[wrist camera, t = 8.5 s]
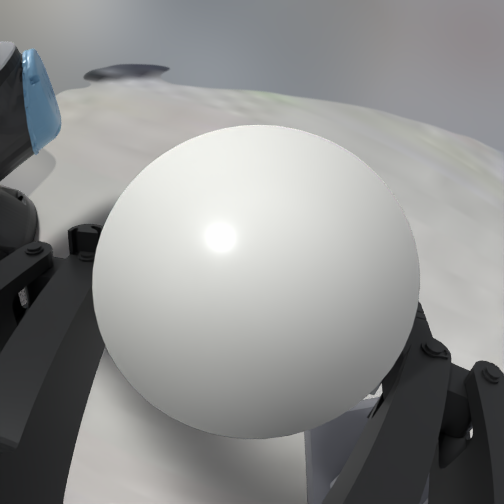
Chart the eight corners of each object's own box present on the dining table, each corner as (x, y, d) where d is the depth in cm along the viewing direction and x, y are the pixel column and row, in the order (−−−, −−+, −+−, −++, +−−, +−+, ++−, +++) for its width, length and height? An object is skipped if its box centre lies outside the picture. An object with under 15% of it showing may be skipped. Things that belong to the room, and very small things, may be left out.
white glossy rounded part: (197, 271, 18) (112, 143, 8) (323, 261, 18) (377, 120, 8) (200, 399, 15) (89, 430, 5) (337, 389, 15) (441, 409, 5)
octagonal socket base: (302, 408, 30) (313, 420, 22) (426, 386, 29) (466, 386, 21) (308, 547, 23) (316, 586, 15) (424, 520, 23) (455, 546, 15)
